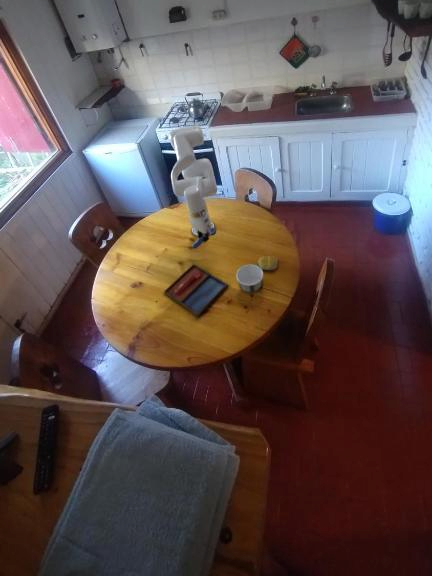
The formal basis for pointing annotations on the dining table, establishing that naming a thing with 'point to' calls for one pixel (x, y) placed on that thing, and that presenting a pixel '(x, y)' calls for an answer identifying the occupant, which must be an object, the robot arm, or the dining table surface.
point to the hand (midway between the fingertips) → (204, 239)
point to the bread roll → (268, 262)
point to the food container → (250, 277)
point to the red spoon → (187, 282)
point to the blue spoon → (202, 239)
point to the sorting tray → (197, 290)
